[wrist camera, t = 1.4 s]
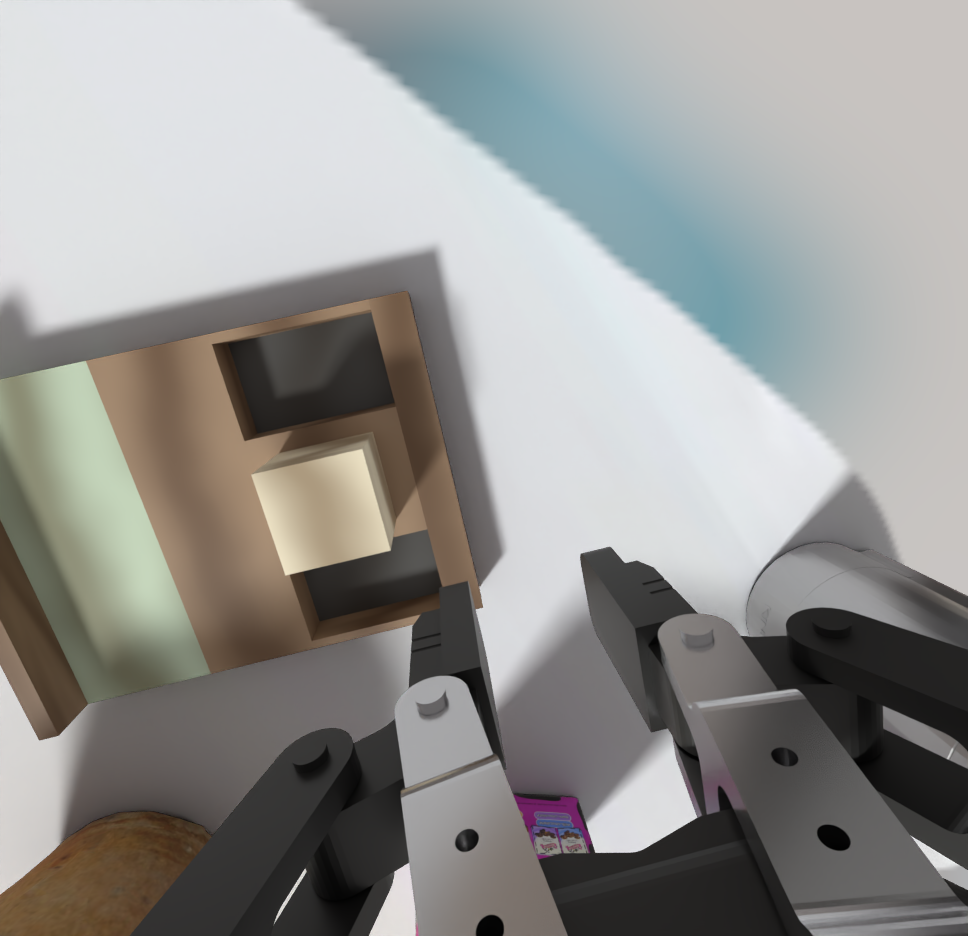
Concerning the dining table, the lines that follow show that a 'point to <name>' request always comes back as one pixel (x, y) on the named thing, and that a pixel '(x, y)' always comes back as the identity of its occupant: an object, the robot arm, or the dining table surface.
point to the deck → (209, 505)
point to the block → (327, 503)
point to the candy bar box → (553, 825)
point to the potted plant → (102, 877)
